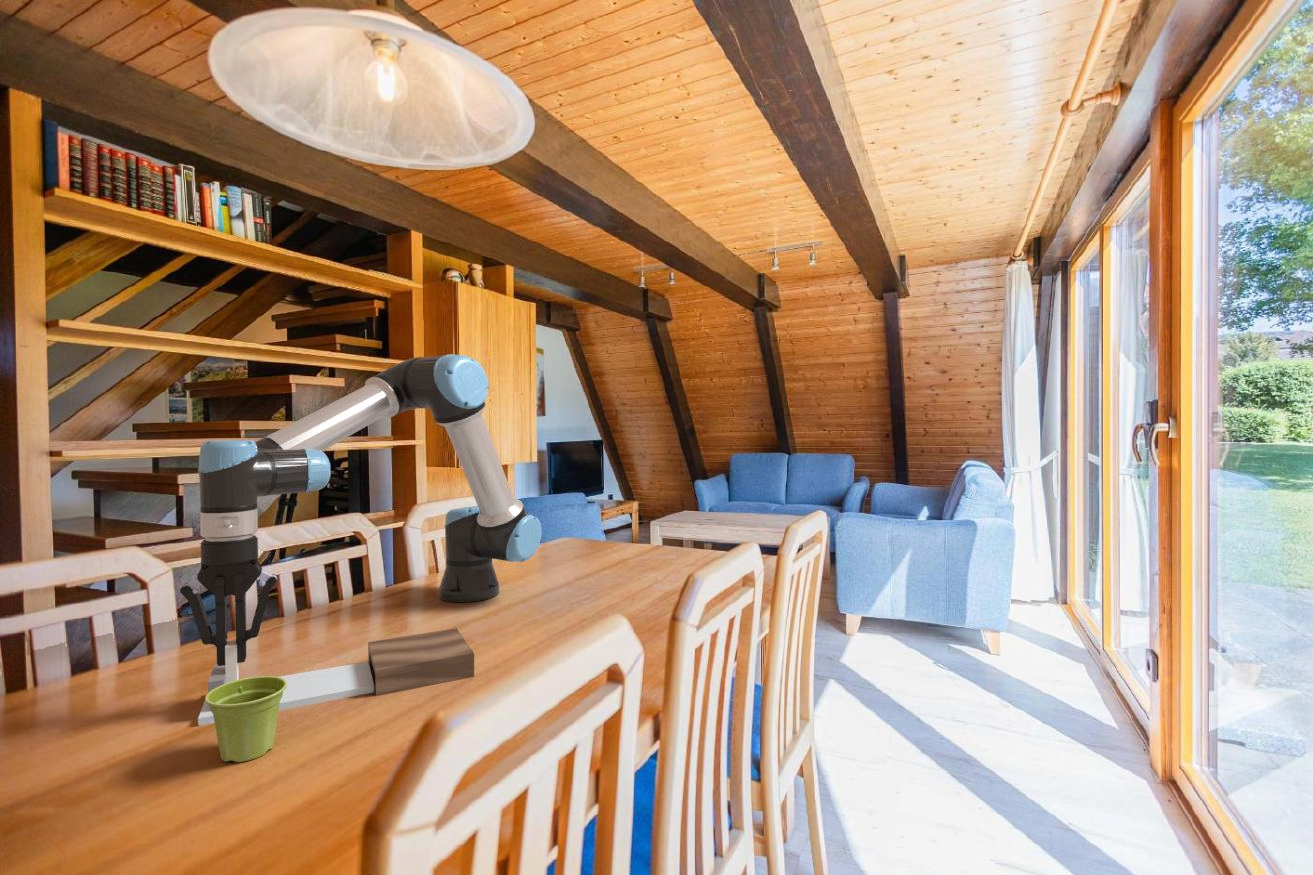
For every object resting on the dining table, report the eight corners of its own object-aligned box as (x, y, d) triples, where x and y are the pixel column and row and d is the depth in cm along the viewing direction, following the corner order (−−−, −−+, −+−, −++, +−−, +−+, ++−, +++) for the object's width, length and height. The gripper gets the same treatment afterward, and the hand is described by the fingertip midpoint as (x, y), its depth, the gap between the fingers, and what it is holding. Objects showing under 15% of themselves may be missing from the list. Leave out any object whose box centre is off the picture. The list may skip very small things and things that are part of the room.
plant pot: (277, 727, 92) (277, 670, 92) (296, 752, 86) (295, 689, 85) (200, 751, 86) (199, 688, 86) (213, 779, 79) (212, 711, 79)
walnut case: (368, 664, 116) (368, 642, 116) (456, 649, 124) (456, 628, 124) (376, 695, 103) (375, 670, 103) (474, 676, 111) (474, 653, 111)
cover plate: (209, 697, 103) (208, 661, 103) (368, 669, 115) (367, 637, 115) (198, 728, 93) (197, 688, 93) (374, 694, 105) (373, 658, 104)
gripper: (174, 544, 93) (177, 701, 93) (276, 536, 99) (278, 683, 100) (183, 536, 99) (185, 683, 100) (278, 529, 105) (280, 667, 106)
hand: (232, 683), depth 100 cm, fingers closed
